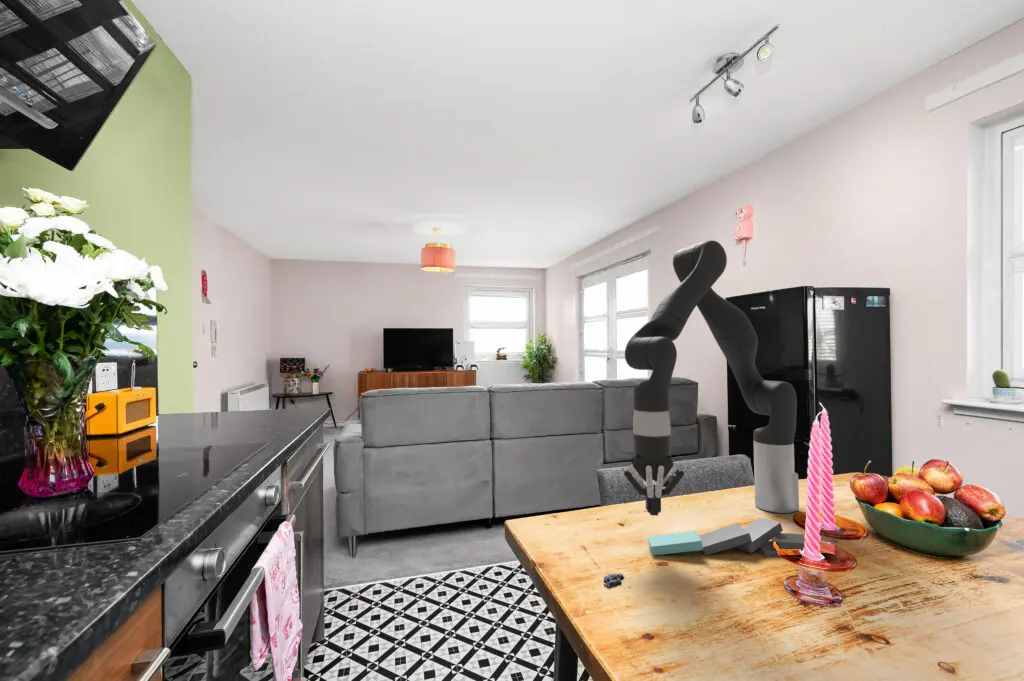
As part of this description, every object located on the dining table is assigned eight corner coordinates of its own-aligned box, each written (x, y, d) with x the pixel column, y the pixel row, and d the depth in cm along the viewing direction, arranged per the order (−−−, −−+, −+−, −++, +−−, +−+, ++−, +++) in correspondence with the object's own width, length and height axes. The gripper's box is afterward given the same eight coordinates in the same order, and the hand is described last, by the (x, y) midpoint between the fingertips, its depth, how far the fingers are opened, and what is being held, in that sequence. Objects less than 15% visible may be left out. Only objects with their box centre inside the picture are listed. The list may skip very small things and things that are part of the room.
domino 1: (695, 545, 99) (739, 531, 99) (705, 555, 94) (751, 541, 94) (692, 537, 99) (736, 523, 99) (702, 547, 94) (749, 532, 94)
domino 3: (752, 549, 98) (799, 549, 98) (765, 560, 93) (814, 560, 93) (752, 541, 98) (799, 540, 98) (765, 551, 93) (814, 551, 93)
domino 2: (731, 546, 98) (762, 525, 102) (750, 553, 93) (783, 530, 97) (728, 538, 98) (759, 517, 102) (748, 544, 93) (780, 522, 97)
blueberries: (640, 583, 85) (640, 573, 85) (624, 599, 78) (624, 588, 78) (606, 574, 88) (606, 564, 89) (588, 588, 82) (588, 577, 82)
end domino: (649, 545, 99) (697, 539, 97) (652, 555, 94) (703, 549, 92) (647, 536, 99) (695, 530, 97) (651, 546, 94) (701, 540, 92)
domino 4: (771, 540, 98) (823, 544, 96) (780, 550, 93) (835, 554, 91) (771, 532, 98) (823, 535, 96) (780, 541, 93) (835, 545, 91)
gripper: (677, 428, 100) (679, 508, 100) (616, 428, 101) (618, 508, 100) (689, 434, 93) (691, 521, 92) (623, 435, 93) (625, 520, 93)
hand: (653, 514), depth 96 cm, fingers closed
